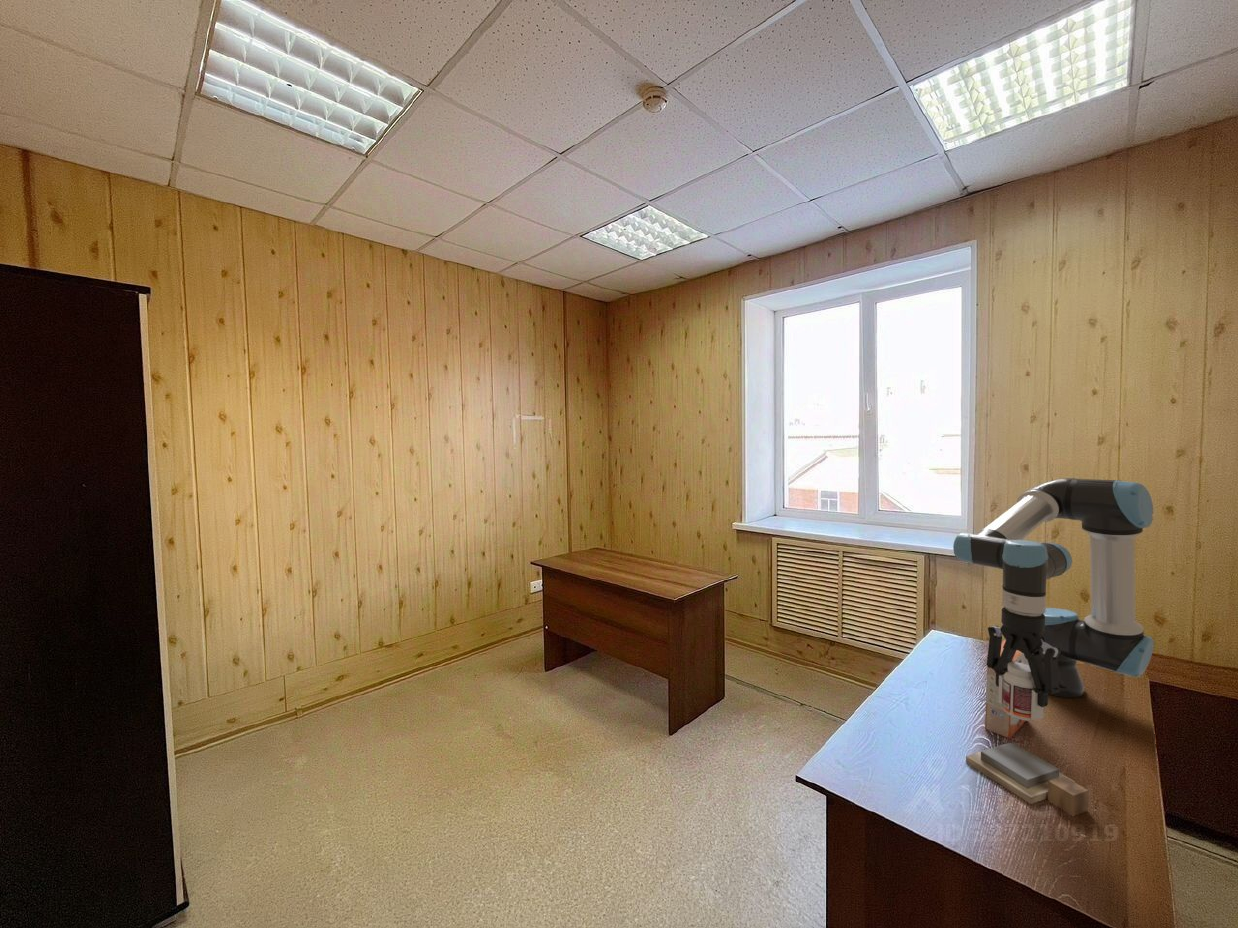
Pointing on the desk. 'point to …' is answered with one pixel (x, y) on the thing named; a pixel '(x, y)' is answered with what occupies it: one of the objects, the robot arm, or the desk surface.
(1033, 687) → the pill bottle
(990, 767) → the podium
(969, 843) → the desk surface
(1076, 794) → the walnut cube
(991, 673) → the cracker box
